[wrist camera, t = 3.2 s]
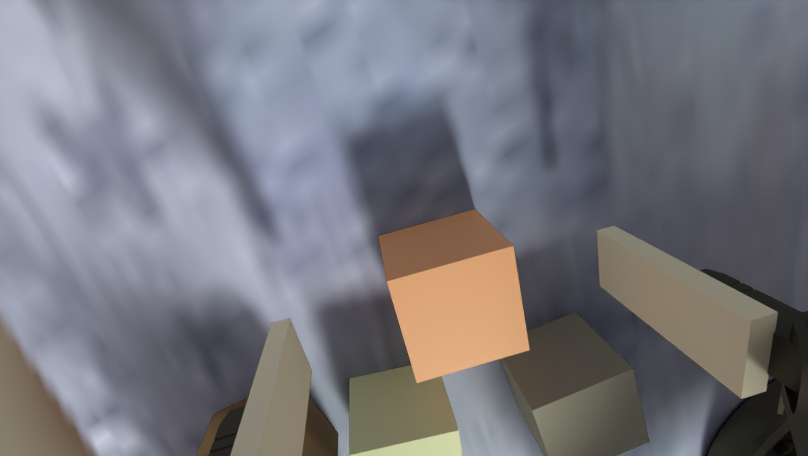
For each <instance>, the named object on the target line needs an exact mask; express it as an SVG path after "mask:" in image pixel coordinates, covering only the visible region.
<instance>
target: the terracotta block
mask: <svg viewBox="0 0 808 456" xmlns="http://www.w3.org/2000/svg"><path fill="white" fill-rule="evenodd" d="M378 237H379V242H380V247H381V253H382V258H383V264H384V269H385V275H386V280H387V284H388V287H389V291H390V294H391V298H392V301H393V304H394V308H395V311H396V314H397V318H398V321H399V325H400V328H401V331H402V335H403V338H404V341H405V345H406V348H407V352H408V355H409V358H410V362H411V365H412V369H413V372H414V375H415V379H416V382H417V383H419V382H423V381H426V380H429V379H433V378H436V377H440V376H443V375H447V374H450V373H453V372H457V371H460V370H464V369H467V368H470V367H474V366H477V365H481V364H484V363H488V362H491V361H494V360H498V359H501V358H505V357H508V356H512V355H515V354H518V353H522V352H525V351H529V350H530V349H529V343H528V336H527V330H526V323H525V317H524V311H523V304H522V298H521V291H520V285H519V279H518V272H517V266H516V259H515V253H514V246H513V245H512V244H511V243H510V242H509V241H508V240H507V239H506V238H505V237H504V236H503V235H502V234H500V233H499V232H498V231H497V230H496V229H495V228H494V227H493V226H492V225H491V224H490V223H489V222H488V221H487V220H486V219H485V218H484V217H483V216H482V215H481V214H480V213H479V212H478V211H476V210H475V209H474V210H470V211H466V212H463V213H459V214H456V215H452V216H448V217H445V218H441V219H438V220H434V221H430V222H427V223H423V224H420V225H416V226H412V227H409V228H405V229H402V230H398V231H394V232H391V233H387V234H384V235H380V236H378Z"/></svg>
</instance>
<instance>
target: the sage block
mask: <svg viewBox="0 0 808 456" xmlns="http://www.w3.org/2000/svg"><path fill="white" fill-rule="evenodd" d="M349 456H462V451H461V444H460V437H459V430H458V427H457V424H456V420H455V417H454V414H453V411H452V408H451V405H450V402H449V398H448V395H447V392H446V389H445V386H444V383H443V379H442V376H440V377H436V378H433V379H429V380H426V381H423V382H419V383H417V382H416V379H415V375H414V372H413V369H412V365H409V366H405V367H400V368H396V369H391V370H386V371H382V372H377V373H372V374H368V375H363V376H358V377H354V378H350V382H349Z"/></svg>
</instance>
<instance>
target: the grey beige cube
mask: <svg viewBox="0 0 808 456" xmlns="http://www.w3.org/2000/svg"><path fill="white" fill-rule="evenodd" d="M527 336H528V343H529V349H530V350H529V351H525V352H522V353H518V354H515V355H512V356H508V357H505V358H501V359H500V360H501V363H502V366H503V368H504V371H505V374H506V376H507V379H508V381H509V384H510V387H511V389H512V392H513V395H514V397H515V400H516V403H517V405H518V407H519V409H520V411H521V413H522V415H523V417H524V419H525V420H526V422H527V424H528V426H529V428H530V430H531V432H532V434H533V436H534V437H535V439H536V441H537V443H538V445H539V447H540V449H541V451H542V452H543V454H544V456H616V455H618V454H621V453H623V452H626V451H628V450H630V449H633V448H635V447H638V446H640V445H643V444H645V443H647V442H649V438H648V433H647V428H646V424H645V419H644V414H643V410H642V405H641V401H640V396H639V391H638V387H637V382H636V377H635V373H634V369H633V368H632V367H631V366H630V365H629V364H628V363H627V362H626V361H625V360H624V359H623V358H622V357H621V356H620V355H619V354H618V353H617V352H616V351H615V350H614V349H613V348H612V347H611V346H610V345H609V344H608V343H607V342H606V341H605V340H604V339H603V338H602V337H601V336H600V335H599V334H598V333H597V332H596V331H595V330H594V329H593V328H592V327H591V326H590V325H589V324H588V323H587V322H586V321H585V320H584V319H583V318H581V317H580V316H579V315H578V314H577V313H576V312H572V313H570V314H568V315H565V316H563V317H560V318H558V319H556V320H553V321H551V322H548V323H546V324H544V325H541V326H539V327H536V328H534V329H532V330H529V331H527Z"/></svg>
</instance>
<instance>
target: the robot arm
mask: <svg viewBox="0 0 808 456" xmlns="http://www.w3.org/2000/svg"><path fill="white" fill-rule="evenodd" d="M597 244H598V262H599V280H600V287H602V288H603V289H604V290H605V291H607V292H608V293H609V294H610V295H612V296H613V297H614V298H615V299H617V300H618V301H619V302H620V303H622V304H623V305H624V306H625V307H627V308H628V309H629V310H630V311H632V312H633V313H634V314H635V315H637V316H638V317H639V318H640V319H642V320H643V321H644V322H646V323H647V324H648V325H649V326H651V327H652V328H653V329H654V330H656V331H657V332H658V333H659V334H661V335H662V336H663V337H664V338H666V339H667V340H668V341H669V342H671V343H672V344H673V345H674V346H676V347H677V348H678V349H679V350H681V351H682V352H683V353H684V354H686V355H687V356H688V357H689V358H691V359H692V360H693V361H694V362H696V363H697V364H698V365H699V366H701V367H702V368H703V369H705V370H706V371H707V372H708V373H710V374H711V375H712V376H713V377H715V378H716V379H717V380H718V381H720V382H721V383H722V384H723V385H725V386H726V387H727V388H728V389H730V390H731V391H732V392H733V393H735V394H736V395H737V396H738V397H740V398H741V399H743V398H746V397H749V396H752V397H751V398H750V399H749V400H748V401H746V402H745V403H744V404H743V405H742V406H741V407H740V408H739V409H738V410H737V411H736V412H735V413H734V414H733V415H732V416H731V417H730V419H729V420H728V421H727V422H726V424H725V425H724V426H723V427H722V429H721V430H720V432H719V433H718V435H717V436H716V438H715V440H714V442H713V444H712V446H711V448H710V450H709V453H708V455H707V456H808V311H806V312H800V311H798V310H796V309H794V308H792V307H790V306H788V305H786V304H784V303H782V302H780V301H778V300H776V299H774V298H772V297H770V296H768V295H766V294H764V293H762V292H760V291H758V290H753V288H752V287H750V286H748V285H746V284H744V283H742V284H741V283H740V281H738V280H736V279H734V278H732V277H730V276H728V275H726V274H723V273H719V272H716V271H712V270H708V269H703V270H700V271H699V270H697V269H695V268H694V267H692V266H690V265H688V264H686V263H684V262H682V261H680V260H678V259H676V258H675V257H673V256H671V255H669V254H667V253H665V252H663V251H661V250H659V249H658V248H656V247H654V246H652V245H650V244H648V243H646V242H644V241H642V240H641V239H639V238H637V237H635V236H633V235H631V234H629V233H627V232H625V231H624V230H622V229H620V228H618V227H616V226H610V227H607V228H603V229H600V230H597ZM311 374H312V369H311V367H310V365H309V362H308V360H307V357H306V355H305V353H304V350H303V348H302V345H301V343H300V341H299V338H298V336H297V334H296V331H295V329H294V326H293V324H292V322H291V319H290V318H288V319H285V320H281V321H278V322H274V323H271V326H270V329H269V332H268V336H267V339H266V342H265V345H264V349H263V352H262V355H261V358H260V361H259V365H258V368H257V371H256V374H255V378H254V381H253V384H252V387H251V390H250V394H249V397H248V400H247V403H246V405H245V406H241V407H238V408H235V409H231V410H230V411H229V412H228V414H227V415H226V416H225V418H224V419H223V421H222V422H221V423H220V425H219V427H218V430H217V433H216V436H215V438H214V442H213V444H212V446H211V449H210V454H209V455H208V456H302V451H303V442H304V434H305V425H306V417H307V408H308V400H309V391H310V383H311ZM769 375H770V376H772V377H773V378H775V379H776V380H775V381H774V382H772V383H770V384H769V385H767V383H768V376H769ZM753 395H754V396H753Z"/></svg>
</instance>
